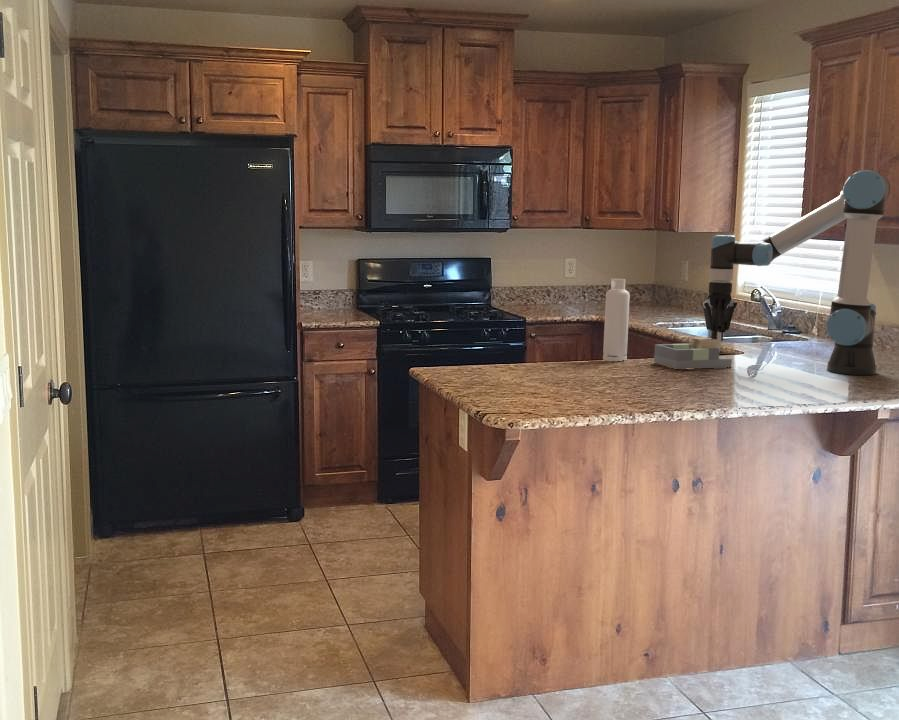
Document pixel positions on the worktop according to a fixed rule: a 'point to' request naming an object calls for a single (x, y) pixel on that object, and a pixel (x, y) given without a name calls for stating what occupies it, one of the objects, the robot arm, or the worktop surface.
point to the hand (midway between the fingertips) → (716, 350)
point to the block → (703, 343)
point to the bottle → (616, 321)
